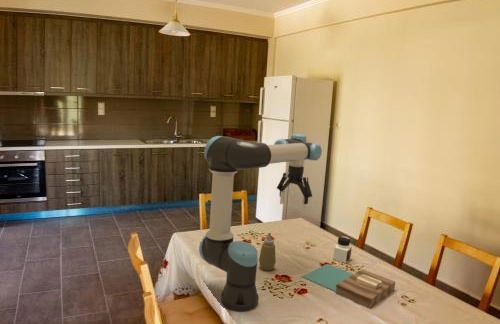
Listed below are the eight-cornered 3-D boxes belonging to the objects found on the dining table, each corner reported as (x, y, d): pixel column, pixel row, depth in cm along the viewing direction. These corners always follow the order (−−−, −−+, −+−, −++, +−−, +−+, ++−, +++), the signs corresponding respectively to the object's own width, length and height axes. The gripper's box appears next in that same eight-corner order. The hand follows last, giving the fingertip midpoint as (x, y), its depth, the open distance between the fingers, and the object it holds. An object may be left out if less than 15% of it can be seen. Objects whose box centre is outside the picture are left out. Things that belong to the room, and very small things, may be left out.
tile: (375, 290, 164) (375, 285, 164) (356, 282, 170) (356, 277, 170) (381, 285, 169) (382, 281, 168) (362, 278, 175) (362, 274, 174)
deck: (370, 308, 157) (371, 299, 156) (335, 293, 167) (336, 284, 167) (394, 289, 174) (395, 281, 174) (361, 277, 185) (362, 269, 184)
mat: (335, 292, 168) (335, 291, 168) (301, 277, 180) (301, 276, 180) (359, 277, 184) (359, 276, 184) (327, 264, 196) (327, 263, 196)
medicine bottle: (346, 263, 199) (348, 241, 197) (332, 259, 203) (335, 238, 201) (350, 259, 205) (353, 237, 203) (337, 255, 209) (339, 234, 207)
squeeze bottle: (273, 273, 182) (276, 236, 179) (257, 270, 184) (259, 234, 181) (276, 266, 190) (279, 231, 187) (260, 263, 192) (262, 229, 189)
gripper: (321, 169, 186) (317, 211, 190) (281, 160, 203) (278, 199, 206) (313, 170, 181) (308, 214, 184) (272, 161, 197) (269, 202, 201)
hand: (292, 206), depth 195 cm, fingers open, 13 cm apart
